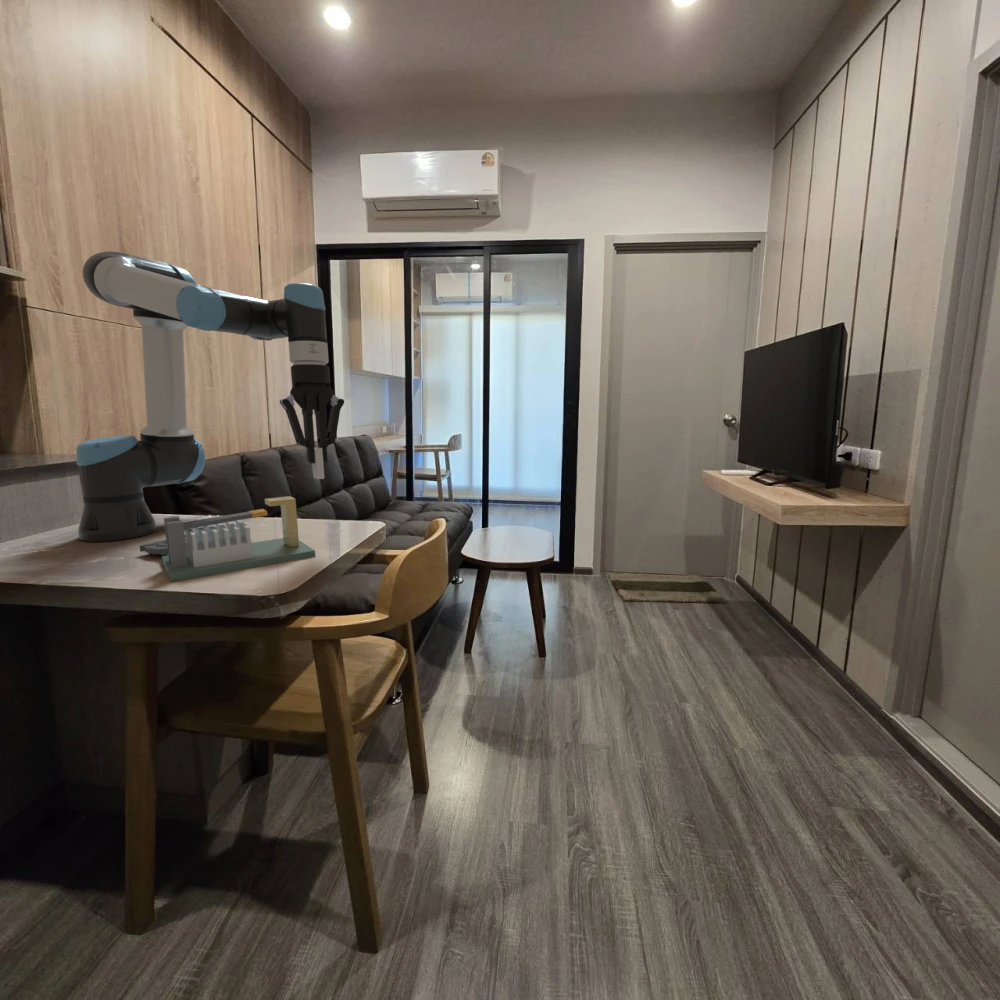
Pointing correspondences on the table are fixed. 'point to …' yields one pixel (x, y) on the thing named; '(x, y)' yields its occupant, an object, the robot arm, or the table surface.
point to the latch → (287, 518)
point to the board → (259, 559)
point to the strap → (224, 519)
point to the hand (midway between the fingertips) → (318, 478)
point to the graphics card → (160, 546)
